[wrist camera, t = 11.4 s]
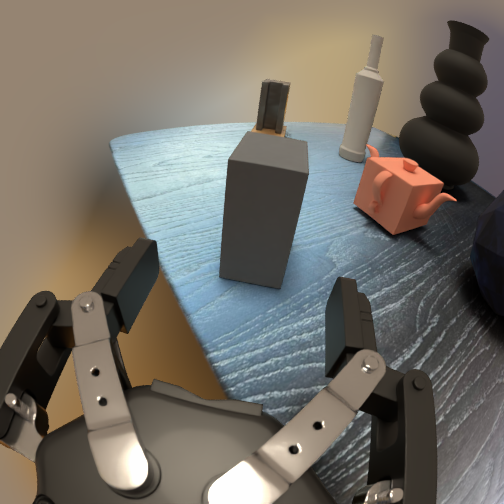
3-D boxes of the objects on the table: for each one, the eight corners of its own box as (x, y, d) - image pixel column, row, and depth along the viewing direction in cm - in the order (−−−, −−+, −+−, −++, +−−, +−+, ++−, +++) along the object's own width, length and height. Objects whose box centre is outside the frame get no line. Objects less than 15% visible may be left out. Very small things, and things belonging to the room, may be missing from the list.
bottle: (333, 153, 53) (358, 30, 37) (345, 150, 56) (370, 36, 40) (356, 164, 50) (385, 36, 35) (367, 160, 53) (395, 42, 38)
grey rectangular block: (218, 277, 24) (228, 158, 18) (239, 218, 31) (251, 125, 25) (280, 289, 24) (309, 173, 17) (287, 227, 31) (307, 135, 24)
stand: (244, 146, 49) (252, 84, 42) (256, 126, 61) (263, 78, 54) (281, 152, 49) (291, 90, 42) (285, 131, 61) (293, 83, 54)
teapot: (406, 264, 28) (438, 196, 23) (323, 193, 38) (337, 134, 33) (450, 242, 33) (475, 190, 28) (377, 187, 43) (392, 139, 38)
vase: (397, 154, 63) (428, 24, 41) (462, 185, 56) (500, 56, 34) (384, 171, 50) (423, 1, 28) (468, 212, 43) (518, 43, 21)
